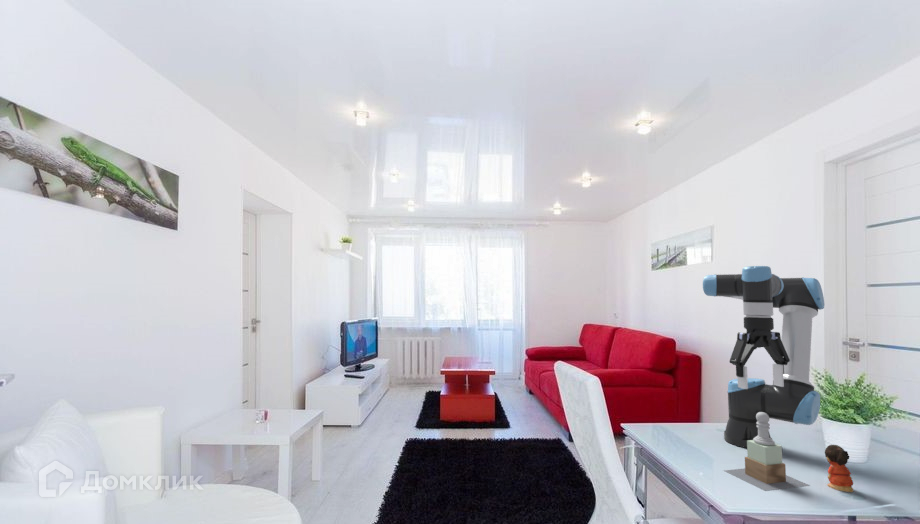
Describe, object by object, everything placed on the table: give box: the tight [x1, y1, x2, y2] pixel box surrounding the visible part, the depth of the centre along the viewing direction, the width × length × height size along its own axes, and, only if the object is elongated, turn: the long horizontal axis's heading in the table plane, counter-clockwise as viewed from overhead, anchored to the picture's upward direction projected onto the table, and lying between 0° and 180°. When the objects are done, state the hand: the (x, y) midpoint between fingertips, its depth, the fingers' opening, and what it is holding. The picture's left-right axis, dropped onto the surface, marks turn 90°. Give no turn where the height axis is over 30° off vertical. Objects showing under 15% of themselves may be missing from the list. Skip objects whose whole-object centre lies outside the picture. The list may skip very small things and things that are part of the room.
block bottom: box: [744, 456, 787, 484], centre depth 129 cm, size 7×7×5 cm
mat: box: [723, 467, 811, 492], centre depth 128 cm, size 16×14×1 cm
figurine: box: [824, 444, 855, 493], centre depth 123 cm, size 6×6×12 cm
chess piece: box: [753, 412, 776, 446], centre depth 129 cm, size 5×5×9 cm
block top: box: [746, 440, 783, 465], centre depth 129 cm, size 6×6×5 cm
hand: (760, 387), depth 131 cm, fingers open, 13 cm apart
